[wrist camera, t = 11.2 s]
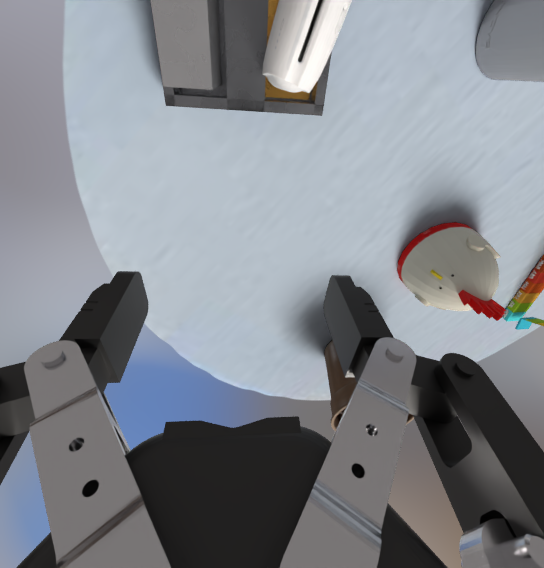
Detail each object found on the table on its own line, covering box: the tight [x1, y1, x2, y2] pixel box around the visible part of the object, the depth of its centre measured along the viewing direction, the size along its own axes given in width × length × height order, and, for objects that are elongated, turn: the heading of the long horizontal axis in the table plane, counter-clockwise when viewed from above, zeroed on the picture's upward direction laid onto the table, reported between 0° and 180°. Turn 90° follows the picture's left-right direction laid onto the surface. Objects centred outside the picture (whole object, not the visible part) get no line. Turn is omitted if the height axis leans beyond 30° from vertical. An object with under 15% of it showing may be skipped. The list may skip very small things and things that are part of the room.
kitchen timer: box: [397, 222, 506, 321], centre depth 43 cm, size 14×14×15 cm
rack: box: [150, 0, 332, 116], centre depth 24 cm, size 17×14×11 cm
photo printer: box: [262, 0, 352, 93], centre depth 21 cm, size 10×4×12 cm, turn 159°
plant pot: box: [324, 340, 414, 431], centre depth 57 cm, size 16×16×16 cm
